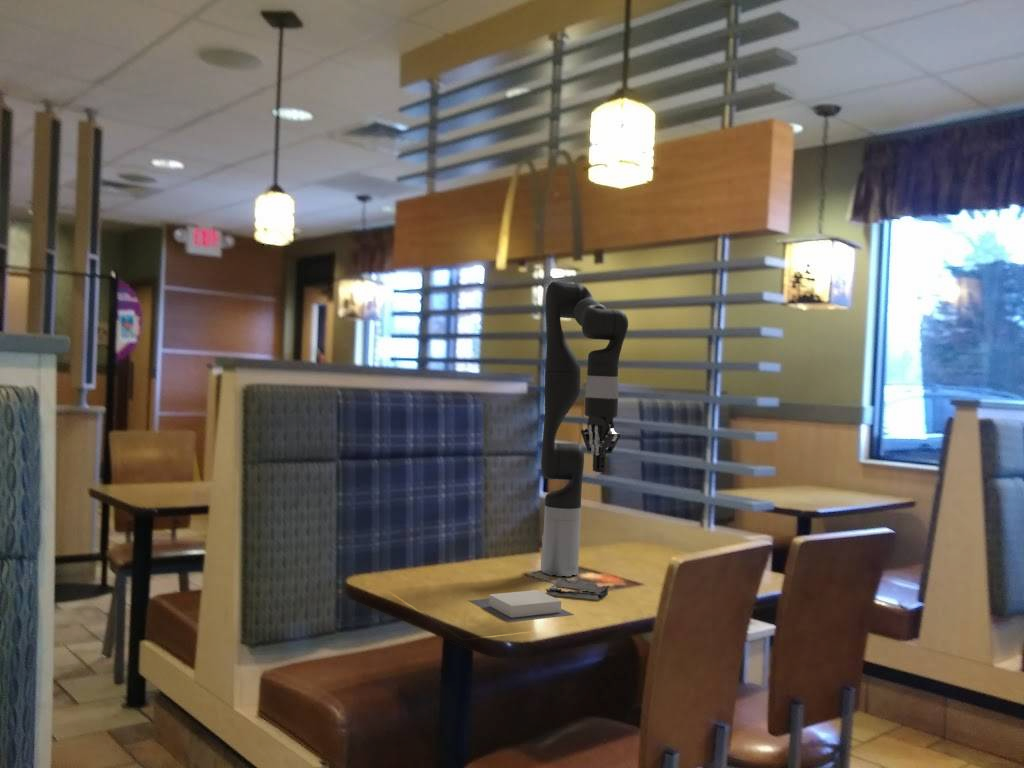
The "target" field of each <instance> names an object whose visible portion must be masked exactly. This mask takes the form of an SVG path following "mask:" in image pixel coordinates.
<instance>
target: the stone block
mask: <svg viewBox="0 0 1024 768" xmlns="http://www.w3.org/2000/svg"><path fill="white" fill-rule="evenodd" d="M488 599H489V606H490V607H492V608H494V609H496V610H498V611H500V612H502V613H503V614H505V615H507V616H509V617H511V618H513V617H522V616H531V615H541V614H550V613H559V612H561V609H562V600H560V599H558V598H555V597H554V596H553V595H548V594H547V593H544V592H542V591H541V590H538V589H532V590H523V591H512V592H502V593H501V592H500V593H491V594H489V595H488Z"/></svg>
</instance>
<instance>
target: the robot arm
mask: <svg viewBox="0 0 1024 768" xmlns="http://www.w3.org/2000/svg"><path fill="white" fill-rule="evenodd" d="M561 318H563V319H565V318H566V319H574V320H575V321H576V322H577V324H578V325H579V326H581V331H582V334H583V336H584V337H585V338H587V339H591V340H604V341H608V344H607V346H606V347H604V348H602V349H596V350H591V351H590V352H589V353H588V357H587V369H586V370H587V371H586V372H587V373H586V375H587V376H586V382H585V394H584V411H583V412H584V416H586V417H588V420H587V422H586V427H585V428H582V429H581V430H580V433H581V437H582V439H583V442H584V445H585V448H586V451H587V452H590V453H591V455H592V472H596V473H604V472H605V469H606V456H607V455H609V454H612V452H613V451H614V448H615V447H616V445H617V444H618V441H619V440H620V437H621V434H620V432H616V431H615V424H614V418H617V417H618V411H619V409H618V407H619V377H618V376H619V361H620V360H619V359H620V355H621V351H622V347H623V345H624V341H625V338H626V335H627V332H628V327H629V321H628V320H629V319H628V316H627V314H626V313H625V312H624V311H623V310H621V309H611V308H610V309H609V308H606V307H605V306H604V305H603V304H601V302H598V301H597V300H596V299H595V298H594V296H593V294H592V292H591V291H590V290H589V288H588V287H587V286H585V285H584V284H581V283H575V282H567V281H566V282H565V281H552V282H550V283H548V285H547V288H546V293H545V326H546V327H545V328H546V346H545V347H546V348H545V350H546V351H545V368H544V418H543V429H542V430H543V433H542V442H541V453H540V454H541V455H540V469H541V475H542V477H543V478H544V479H547V480H567V481H568V483H567V484H566V485H565V486H563V487H562V488H559V489H558V490H555V491H550V492H548V493H546V495H545V497H544V518H543V521H544V523H543V533H542V535H541V555H540V556H541V559H540V560H541V561H540V570H541V572H542V573H543V574H544V573H545V575H547V574H548V575H547V576H552V575H556V576H555V577H562V576H566V577H573V576H572V575H575V576H577V575H579V560H580V536H581V514H582V511H581V510H582V491H583V489H582V488H583V476H584V466H585V451H584V448H583V446H582V445H581V444H579V443H564V442H563V443H560V442H555V441H556V437H557V433H558V430H559V428H560V426H561V424H562V422H563V420H564V419H565V417H566V416H567V414H568V413H569V411H570V410H571V408H572V407H573V406H574V404H575V403H576V401H577V400H578V398H579V395H580V394H581V393H580V392H581V373H582V372H581V366H580V363H579V361H578V359H577V357H576V355H575V353H574V352H573V350H572V348H571V347H570V345H569V343H568V341H567V340H566V337H565V335H564V331H563V327H562V322H561Z"/></svg>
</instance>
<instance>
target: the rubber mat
mask: <svg viewBox="0 0 1024 768" xmlns="http://www.w3.org/2000/svg"><path fill="white" fill-rule="evenodd" d="M468 602H470V603H471V604H473V605H476V606H477V607H480V608H481V609H483V610H484V611H487V612H488V613H490V614H492V615H493V616H495V617H496V618H499V619H501V620H503V621H505V622H506V623H516V622H524V621H525V622H526V621H532V620H533V621H535V620H541V619H549V618H551V619H552V618H558V617H559V618H560V617H569V616H575V614H574V613H571V612H570V611H567V610H565V609H563V608H561V612H559V613H550V614H541V615H531V616H522V617H513V618H511V617H509V616H507V615H505V614H503V613H502V612H500V611H498V610H496V609H494V608H492V607H490V606H489V598H482V599H472V600H471V599H470V600H468Z"/></svg>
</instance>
